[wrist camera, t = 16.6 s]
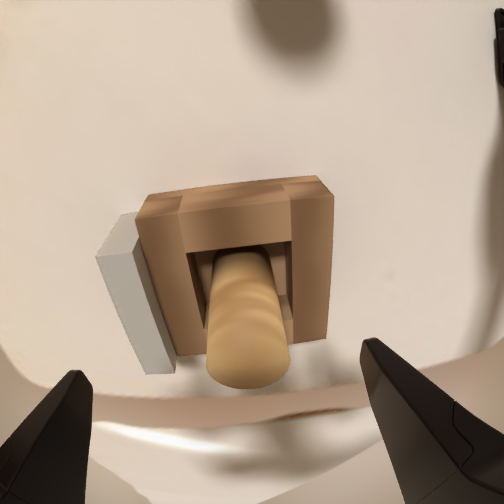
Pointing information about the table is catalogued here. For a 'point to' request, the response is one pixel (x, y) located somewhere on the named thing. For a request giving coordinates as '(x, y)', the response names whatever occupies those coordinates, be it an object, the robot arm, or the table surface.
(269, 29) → the table surface
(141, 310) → the wall
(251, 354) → the dowel
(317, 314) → the socket block
